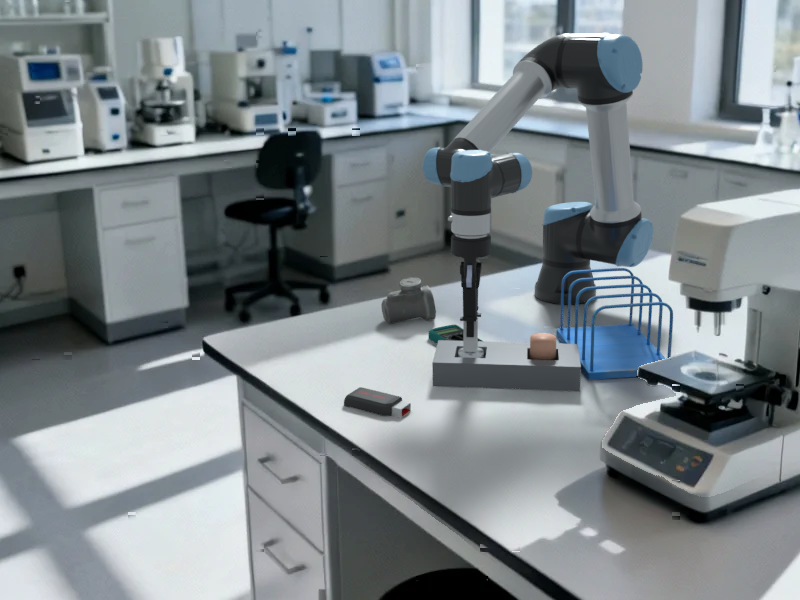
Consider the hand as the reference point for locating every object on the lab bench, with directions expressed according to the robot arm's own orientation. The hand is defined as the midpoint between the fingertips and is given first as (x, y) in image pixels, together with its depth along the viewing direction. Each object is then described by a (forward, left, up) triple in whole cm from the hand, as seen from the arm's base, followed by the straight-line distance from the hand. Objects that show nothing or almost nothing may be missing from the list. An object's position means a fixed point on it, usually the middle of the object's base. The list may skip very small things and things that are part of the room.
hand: (470, 350), depth 182 cm
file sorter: (-31, +8, -6) cm, 32 cm away
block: (-6, +4, -5) cm, 9 cm away
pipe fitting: (-8, -35, -6) cm, 36 cm away
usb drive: (+23, +2, -6) cm, 24 cm away
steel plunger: (0, 0, -4) cm, 4 cm away
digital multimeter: (-8, -15, -6) cm, 18 cm away
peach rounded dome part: (-11, +9, -1) cm, 14 cm away
